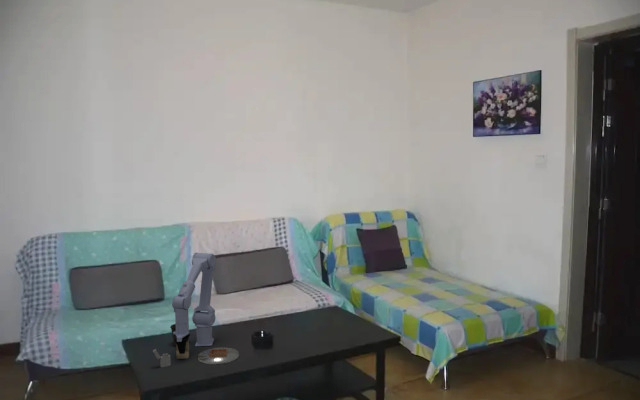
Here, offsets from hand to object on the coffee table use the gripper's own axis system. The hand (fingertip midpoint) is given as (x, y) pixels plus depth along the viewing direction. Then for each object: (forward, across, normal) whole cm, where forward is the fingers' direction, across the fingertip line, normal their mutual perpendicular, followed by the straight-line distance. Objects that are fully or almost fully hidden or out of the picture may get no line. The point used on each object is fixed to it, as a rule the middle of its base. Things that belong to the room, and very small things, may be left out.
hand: (182, 351), depth 230 cm
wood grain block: (+2, 0, 0) cm, 2 cm away
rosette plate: (+2, +1, +16) cm, 16 cm away
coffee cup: (+3, -17, -5) cm, 18 cm away
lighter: (+3, +10, -7) cm, 12 cm away
